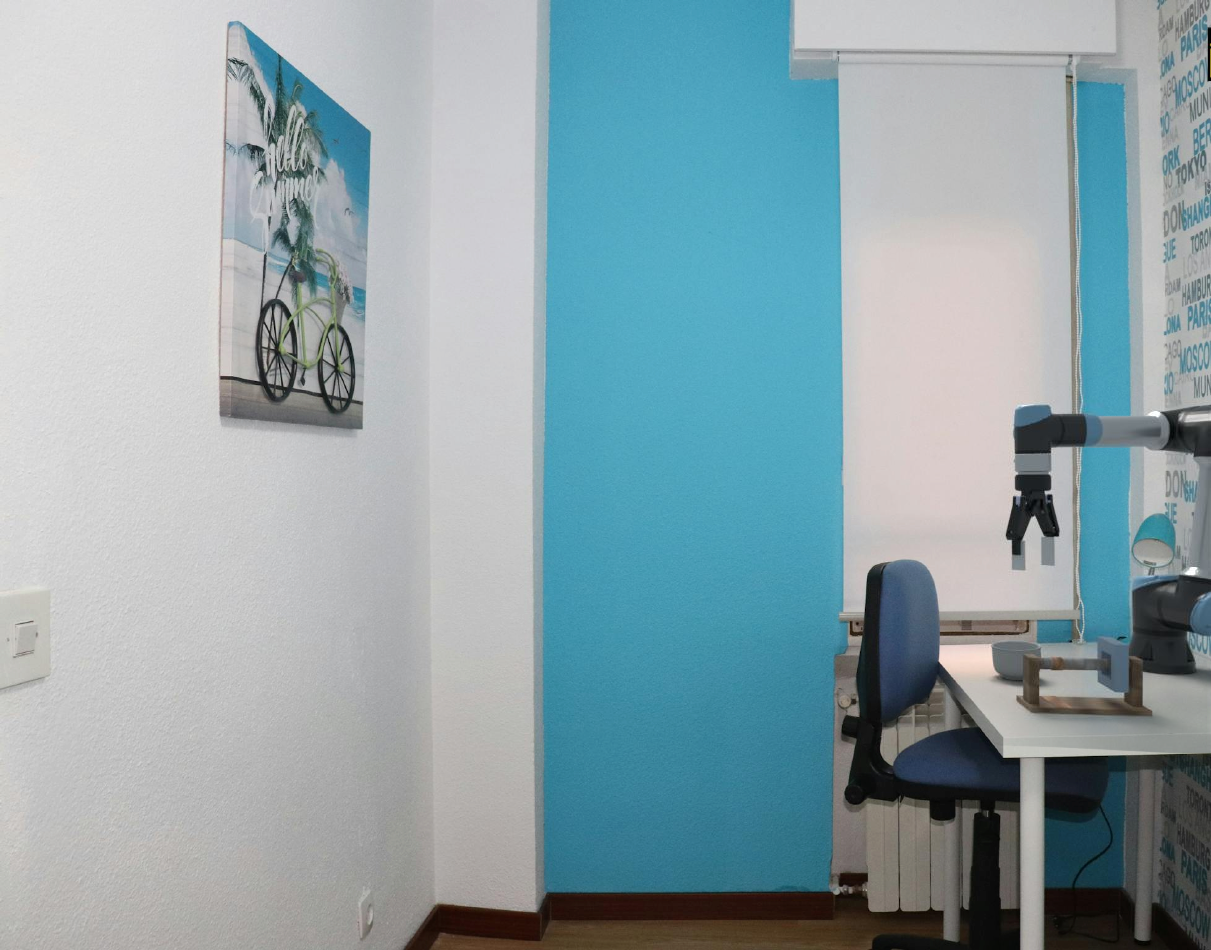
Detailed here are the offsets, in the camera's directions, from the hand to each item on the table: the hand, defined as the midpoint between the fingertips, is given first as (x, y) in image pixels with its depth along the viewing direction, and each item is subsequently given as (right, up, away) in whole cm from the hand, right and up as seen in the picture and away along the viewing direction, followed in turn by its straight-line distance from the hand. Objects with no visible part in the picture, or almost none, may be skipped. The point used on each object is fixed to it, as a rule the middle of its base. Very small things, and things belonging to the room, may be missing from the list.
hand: (1033, 567), depth 209 cm
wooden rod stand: (+2, -27, -17) cm, 32 cm away
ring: (+8, -23, -18) cm, 30 cm away
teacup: (+1, -27, +12) cm, 30 cm away
